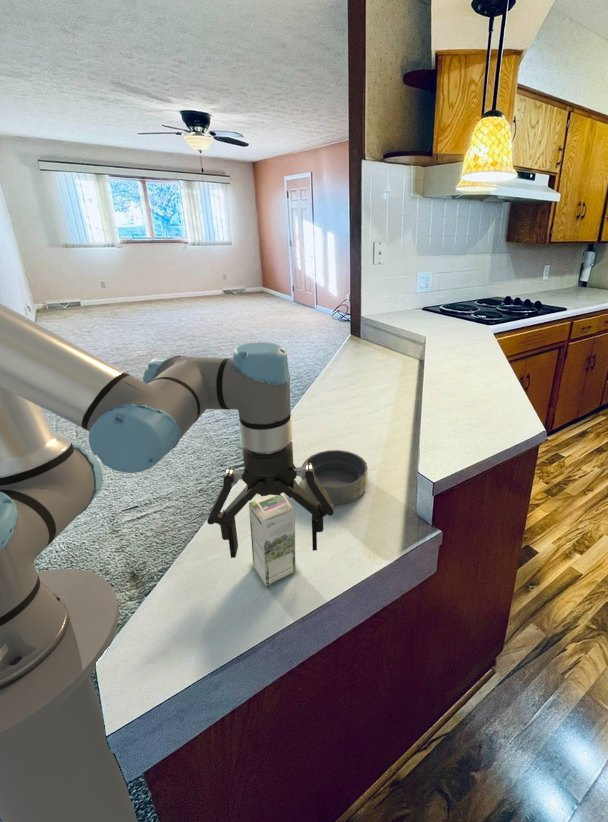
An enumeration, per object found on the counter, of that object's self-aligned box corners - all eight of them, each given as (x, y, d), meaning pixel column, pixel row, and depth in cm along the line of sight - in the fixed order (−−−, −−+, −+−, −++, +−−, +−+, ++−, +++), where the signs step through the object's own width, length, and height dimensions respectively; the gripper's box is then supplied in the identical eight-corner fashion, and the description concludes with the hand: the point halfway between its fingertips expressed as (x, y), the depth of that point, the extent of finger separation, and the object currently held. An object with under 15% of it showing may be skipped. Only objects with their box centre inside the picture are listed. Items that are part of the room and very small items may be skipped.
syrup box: (282, 552, 77) (279, 488, 72) (296, 573, 73) (295, 507, 68) (252, 566, 74) (247, 500, 68) (266, 588, 70) (261, 520, 64)
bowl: (301, 508, 89) (301, 489, 87) (302, 468, 103) (302, 451, 101) (370, 504, 92) (371, 485, 90) (362, 465, 106) (363, 449, 104)
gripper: (346, 427, 69) (345, 527, 77) (188, 434, 65) (204, 538, 73) (350, 451, 62) (348, 558, 70) (174, 460, 58) (193, 572, 66)
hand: (275, 548), depth 72 cm, fingers open, 13 cm apart
